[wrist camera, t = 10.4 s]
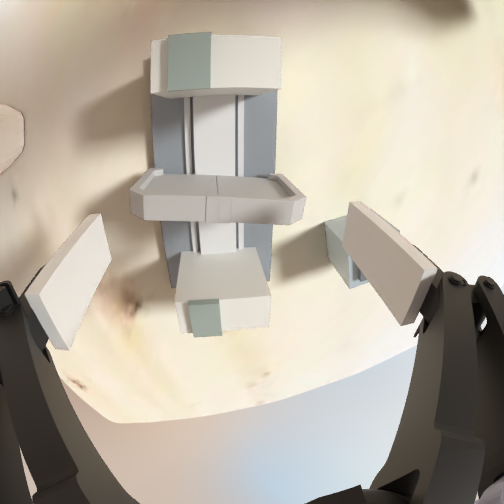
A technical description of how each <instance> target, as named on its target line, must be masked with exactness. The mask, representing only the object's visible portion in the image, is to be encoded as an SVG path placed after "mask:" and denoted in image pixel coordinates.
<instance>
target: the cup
mask: <svg viewBox="0 0 504 504" xmlns="http://www.w3.org/2000/svg"><path fill="white" fill-rule="evenodd" d="M23 147H24V118H23V116H22V114H21V112H19V111H17V110H15V109H13V108H11V107H10V106H8V105H0V173H2V172H3V171H4V170H6V169H7V168H9V167H10V165H11V164H12V163H13V162H14V161H15V160H16V158H17V157H18V156H19V155H20V154H21V153H22V150H23Z"/></svg>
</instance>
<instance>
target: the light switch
mask: <svg viewBox="0 0 504 504" xmlns="http://www.w3.org/2000/svg"><path fill="white" fill-rule="evenodd" d="M129 200H130V213H132V214H134V215H135V216H137V217H139V218H141V219H143V220H149V221H198V222H205V221H206V223H254V224H275V225H291V224H293V223H295V222H297V221H299V220H301V219H302V217H303V212H304V206H305V201H306V196H305V195H304V194H303V193H302V192H301V191H300V190H298V189H297V188H296V187H295V186H294V185H293V184H292V183H291V182H290V181H289V180H288V179H287V178H286V177H285V176H284V175H283V174H273V173H269V176H268V179H267V178H254V177H239V176H222V175H197V174H163V168H149V169H148V170H147V171H146V172H145V173H144V174H143V175H142V176H141V177H140V178H139V179H138V181H137V182H136V183H135V184H134V185H133V186H132V187H131V188H130V189H129Z"/></svg>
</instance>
